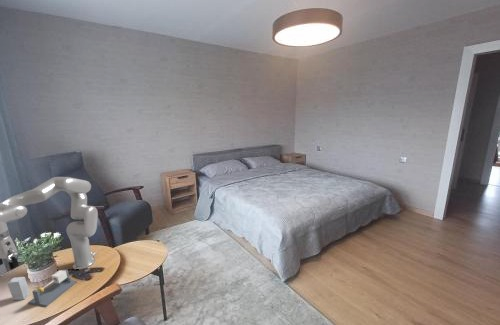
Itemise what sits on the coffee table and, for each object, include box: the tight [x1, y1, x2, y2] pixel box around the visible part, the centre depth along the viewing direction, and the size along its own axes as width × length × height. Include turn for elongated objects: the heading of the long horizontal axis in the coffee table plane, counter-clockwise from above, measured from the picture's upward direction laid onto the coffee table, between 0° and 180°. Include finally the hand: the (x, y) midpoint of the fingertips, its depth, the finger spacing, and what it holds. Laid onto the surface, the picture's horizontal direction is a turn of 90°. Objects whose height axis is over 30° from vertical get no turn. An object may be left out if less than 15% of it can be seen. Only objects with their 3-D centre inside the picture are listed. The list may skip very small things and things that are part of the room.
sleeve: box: [51, 269, 67, 284], centre depth 133 cm, size 5×4×4 cm
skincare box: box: [6, 276, 31, 301], centre depth 126 cm, size 6×4×12 cm
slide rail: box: [27, 269, 78, 307], centre depth 130 cm, size 18×12×8 cm, turn 171°
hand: (6, 266), depth 111 cm, fingers open, 9 cm apart
